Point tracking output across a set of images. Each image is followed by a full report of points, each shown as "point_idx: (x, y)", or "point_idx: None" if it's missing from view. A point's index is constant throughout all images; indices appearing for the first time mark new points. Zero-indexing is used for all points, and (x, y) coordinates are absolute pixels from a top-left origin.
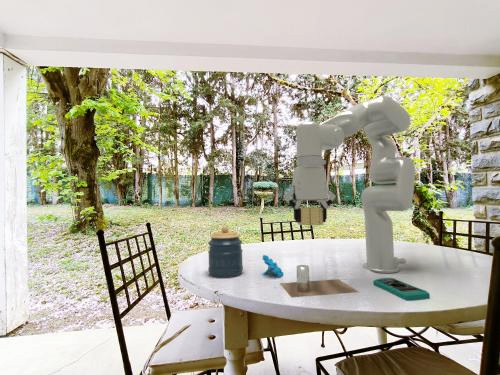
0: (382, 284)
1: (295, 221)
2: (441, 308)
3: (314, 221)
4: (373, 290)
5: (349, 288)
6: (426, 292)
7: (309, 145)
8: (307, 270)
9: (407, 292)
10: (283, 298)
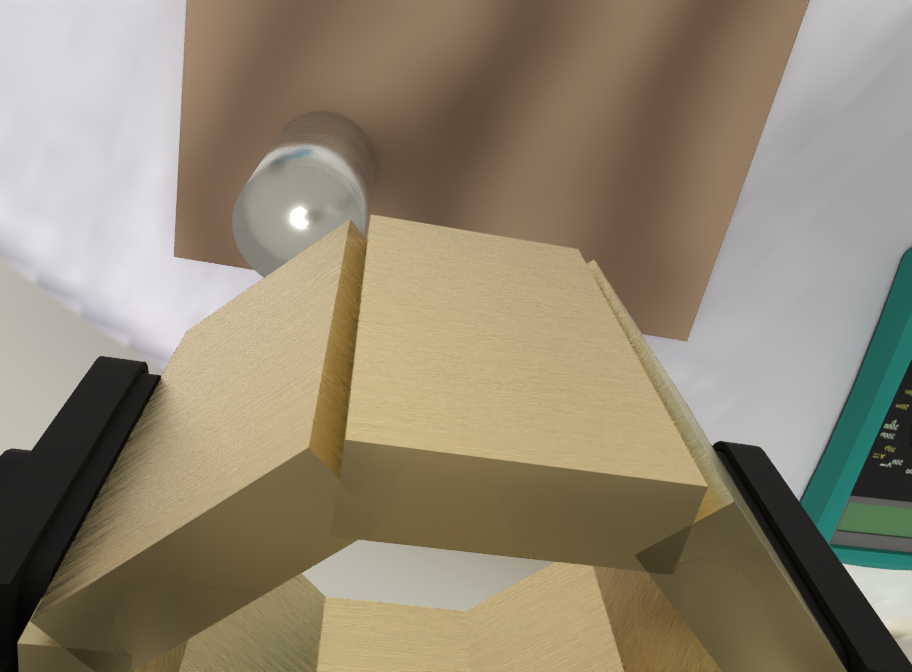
0: (895, 365)
1: (101, 360)
2: None
3: None
4: (830, 311)
5: (685, 257)
6: None
7: None
8: None
9: (874, 516)
10: (126, 209)
